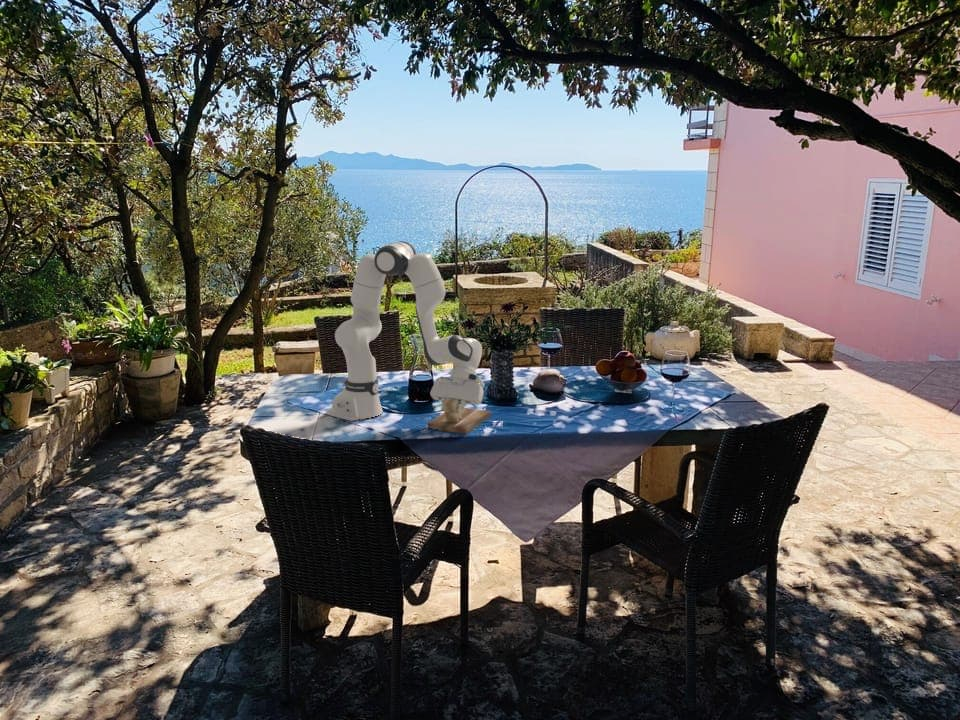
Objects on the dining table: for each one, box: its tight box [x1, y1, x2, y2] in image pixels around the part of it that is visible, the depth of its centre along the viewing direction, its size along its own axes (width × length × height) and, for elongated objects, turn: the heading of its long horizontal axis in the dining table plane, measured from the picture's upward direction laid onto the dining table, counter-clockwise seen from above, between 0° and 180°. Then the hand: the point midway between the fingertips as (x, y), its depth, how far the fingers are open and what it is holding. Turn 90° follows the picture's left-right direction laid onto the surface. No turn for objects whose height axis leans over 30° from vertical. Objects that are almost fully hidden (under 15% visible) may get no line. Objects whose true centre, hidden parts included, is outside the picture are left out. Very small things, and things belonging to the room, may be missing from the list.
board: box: [427, 407, 492, 435], centre depth 259 cm, size 16×21×2 cm
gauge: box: [443, 398, 462, 423], centre depth 253 cm, size 6×4×8 cm, turn 65°
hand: (450, 411), depth 252 cm, fingers closed on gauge, 4 cm apart
